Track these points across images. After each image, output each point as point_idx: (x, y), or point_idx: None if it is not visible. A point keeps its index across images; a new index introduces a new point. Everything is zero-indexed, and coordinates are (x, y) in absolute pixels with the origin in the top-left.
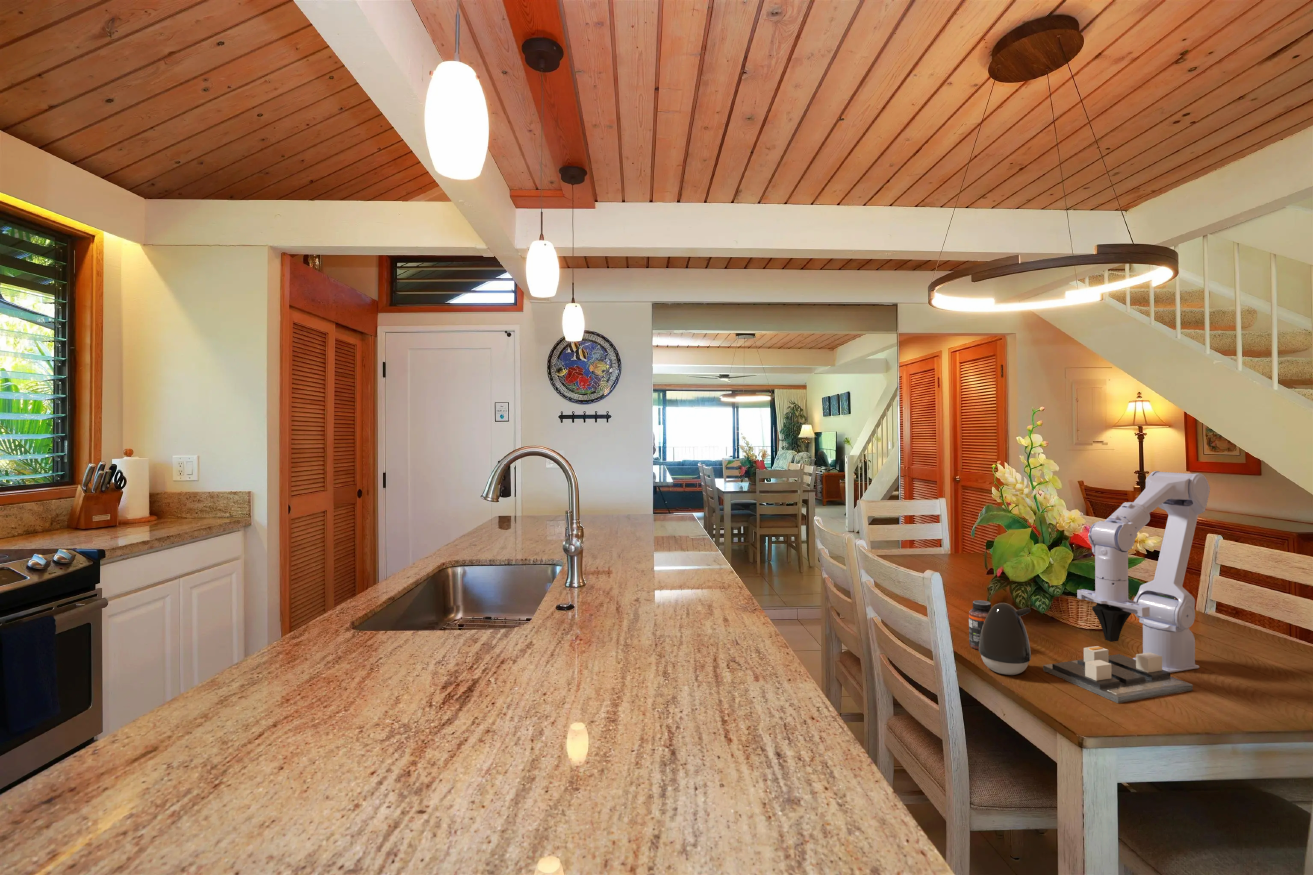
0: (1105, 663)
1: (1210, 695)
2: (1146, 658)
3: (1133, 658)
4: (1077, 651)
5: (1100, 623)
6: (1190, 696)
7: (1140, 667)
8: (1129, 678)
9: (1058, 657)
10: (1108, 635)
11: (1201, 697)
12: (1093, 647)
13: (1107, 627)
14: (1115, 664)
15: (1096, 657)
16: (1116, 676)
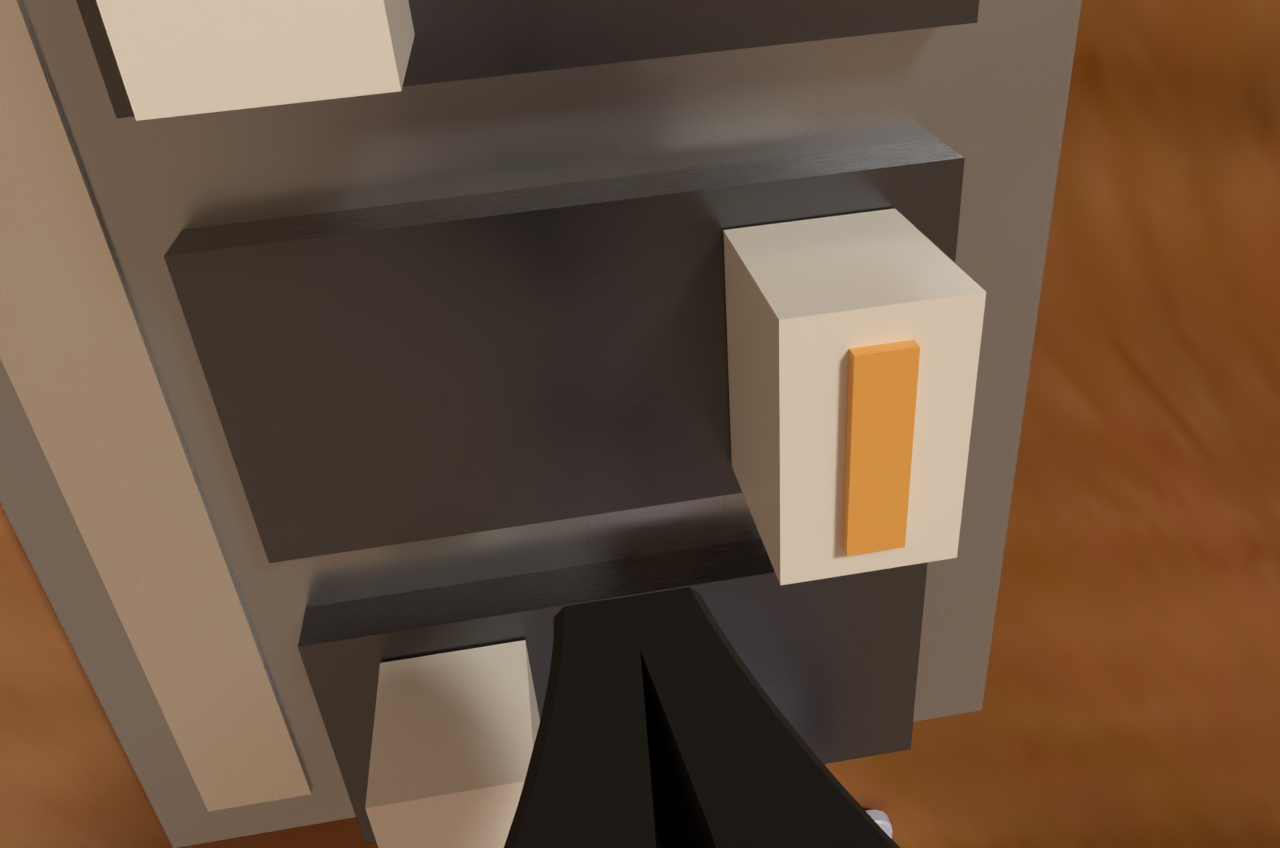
0: (167, 14)
1: (68, 844)
2: (388, 798)
3: (880, 821)
4: (1258, 536)
5: (880, 844)
6: (32, 697)
7: (469, 667)
8: (209, 331)
9: (1276, 212)
10: (607, 675)
11: (12, 760)
12: (936, 457)
13: (636, 840)
14: (743, 552)
15: (753, 320)
16: (327, 232)
